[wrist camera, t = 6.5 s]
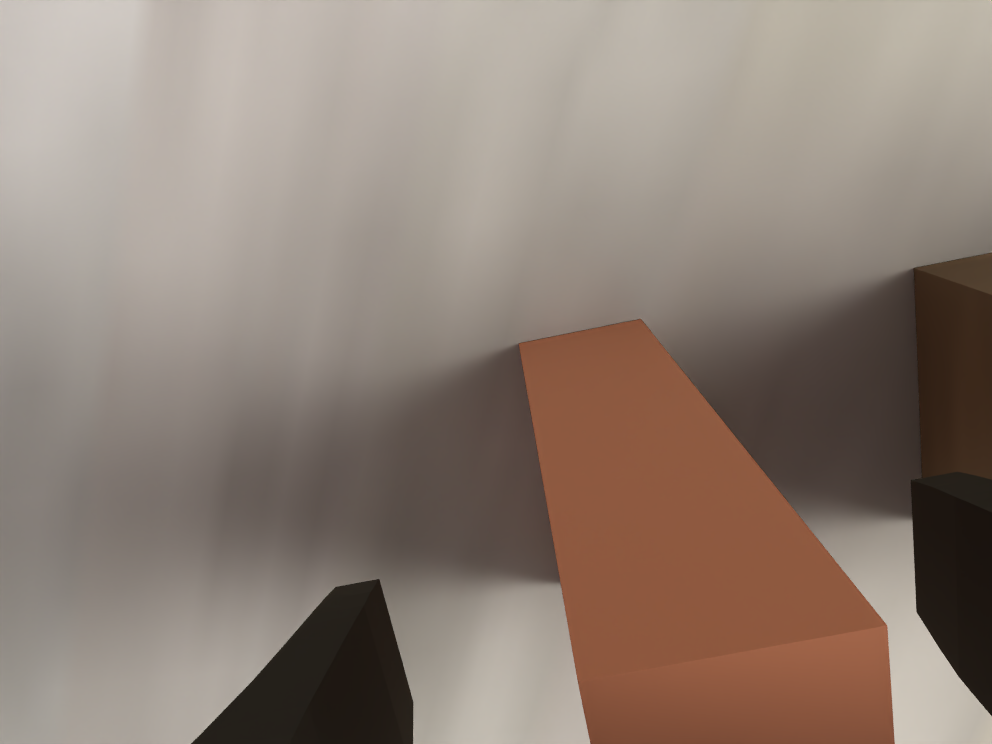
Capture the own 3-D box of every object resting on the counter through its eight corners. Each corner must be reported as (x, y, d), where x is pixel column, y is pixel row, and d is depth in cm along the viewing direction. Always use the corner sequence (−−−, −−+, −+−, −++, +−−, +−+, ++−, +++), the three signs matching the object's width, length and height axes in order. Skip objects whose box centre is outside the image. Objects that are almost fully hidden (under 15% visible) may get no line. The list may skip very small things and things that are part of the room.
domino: (640, 319, 14) (887, 624, 6) (677, 563, 16) (917, 1100, 7) (518, 343, 14) (577, 682, 6) (566, 583, 16) (671, 1138, 7)
